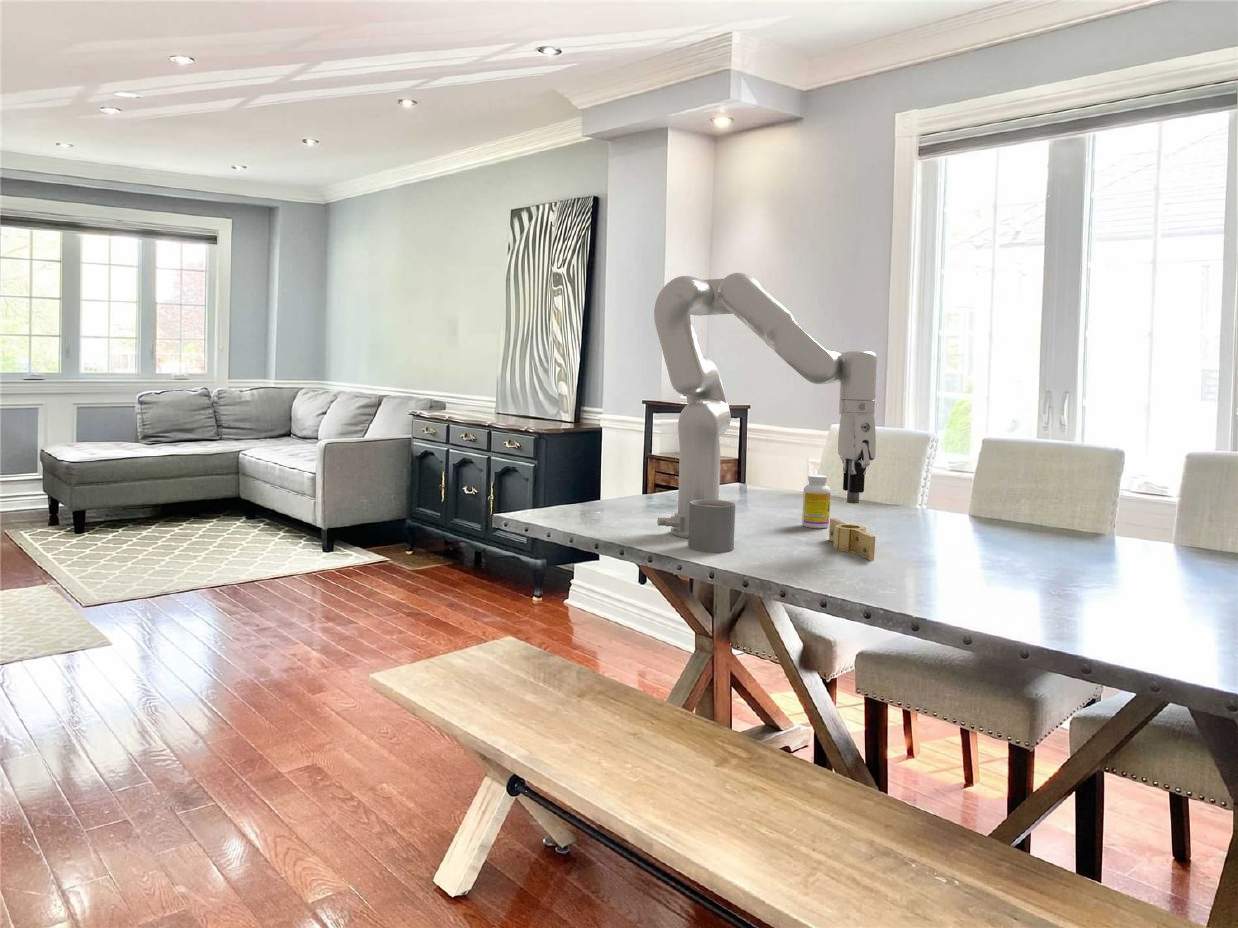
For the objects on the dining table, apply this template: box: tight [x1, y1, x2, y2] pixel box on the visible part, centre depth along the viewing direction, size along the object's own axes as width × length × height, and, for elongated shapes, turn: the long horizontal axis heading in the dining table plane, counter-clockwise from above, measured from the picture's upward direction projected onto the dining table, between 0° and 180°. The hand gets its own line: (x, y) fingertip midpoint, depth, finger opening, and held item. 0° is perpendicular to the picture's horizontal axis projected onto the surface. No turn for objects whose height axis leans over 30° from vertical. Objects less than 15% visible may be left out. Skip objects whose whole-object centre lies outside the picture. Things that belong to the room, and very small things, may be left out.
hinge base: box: [833, 523, 876, 561], centre depth 203 cm, size 6×14×5 cm, turn 10°
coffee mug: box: [687, 499, 736, 554], centre depth 205 cm, size 13×10×10 cm
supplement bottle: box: [801, 474, 832, 529], centre depth 233 cm, size 7×7×13 cm
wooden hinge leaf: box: [828, 517, 847, 543], centre depth 214 cm, size 7×2×5 cm, turn 9°
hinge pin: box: [846, 457, 862, 505], centre depth 205 cm, size 4×4×11 cm
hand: (853, 490), depth 205 cm, fingers closed on hinge pin, 2 cm apart
